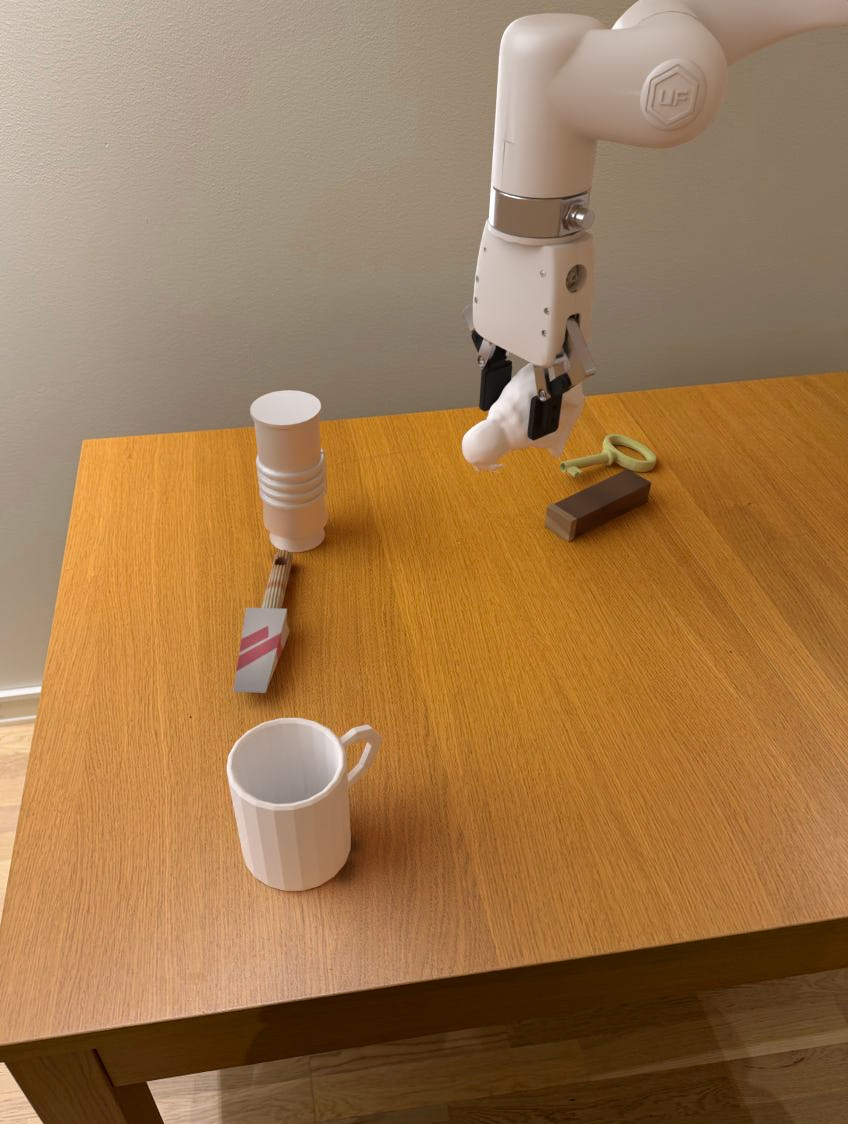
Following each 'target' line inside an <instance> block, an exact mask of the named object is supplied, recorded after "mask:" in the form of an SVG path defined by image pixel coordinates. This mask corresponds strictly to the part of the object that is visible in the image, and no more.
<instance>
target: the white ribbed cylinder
mask: <svg viewBox="0 0 848 1124" xmlns="http://www.w3.org/2000/svg"><path fill="white" fill-rule="evenodd" d="M249 408H250V409H249V411H250V412H249V413H250V417H251V418H252V420H253V422H254V423H253V424H254V431H255V440H256V448H257V449H256V450H257V455H256V457H255V467H256V476H257V479H258V481H257V484H258V485H257V486H258V488H259V498H260V499H261V501H262V513H263V514H262V515H263V516H262V517H263V526H264V527H265V529H266V530H267V531H268V532H269V541H270V544H271V545H272V546H273V547H274V548H276V549H277V550H279V551H280V550H285V551H286V550H288V552H290V553H302V552H308V551H310V550H313V549H315V548H317V547H318V546H321V544H322V542H324V540H325V537H326V531H325V529H324V527H326V526H327V524H328V521H329V513H328V509H327V507H328V506H327V501H326V495H327V493H328V490H327V489H328V480H327V479H328V478H327V463H326V453H325V451H324V449H323V448H322V444H321V431H320V430H321V429H320V428H321V427H320V415H321V413H322V404H321V401H320V399H318V397H316V395H313V394H311V393H308V392H306V391H301V390H294V389H293V390H291V389H288V390H277V391H272V392H269V393H266V394H263V395H261V396H260V397H258V398H256V399H255V400H254V401H253V402H252V404H251V405H250V407H249Z"/></svg>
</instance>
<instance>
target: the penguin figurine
mask: <svg viewBox="0 0 848 1124" xmlns="http://www.w3.org/2000/svg"><path fill="white" fill-rule="evenodd" d="M568 369H570V362H568ZM548 371H549V378H550V381H552V380H553V379H555V373H554V366H553V367H551V368H548ZM534 396H537V389H536V382H535V375H534V368H533V364H532V363H530V362H528V363H527V364H526V365H525V366H523V367H521V368H520V369H519V370H518V372H517V373H516V374H515V375H514V376H513V377H511V381H510V382H509V383H508V384H507V385H506V387H505V388H504V390H503V391H502V393H501V395H500V397H499V399H498V400H497V401H496V402H495V403H494V404H493V405H492V406H491V408H490V410H488V414H487V417H486V419H483V420H481V421H480V422H478V423H476V424H475V425H474V426H472V427H470V429H469V430H468V431H467V432H465V434H464V436H463V438H462V441H461V451H462V455H463V457H464V459H465V460H466V462H467V463H469V464H470V465H472V467H473V468H474V470H475V471H476V472H477V473H481V472H483V471H484V472H485V471H489V472H492V473H497V474H501V473H502V472H501V471H498V470H500V469H503V468H506V465H505V463H502V462H499V460H500V458H502V457H503V456H504V455H507V454H509V453H511V452H512V451H516V450H519V451H521V450H522V451H523V450H526V449H529V448H530V447H533V448H536V449H548V452H549V454H550V455H551V457H552V458H555V459H560V458H561V457H562V455H563V454H564V448H565V446H566V442H567V441H568V440H569V438H570V437H571V434H572V431H573V430H574V427H575V424H576V423H577V422H578V421H579V419H580V418H581V414H582V410H583V407H584V405H585V403H586V400H587V399H586V396H585V394H584V393H583V385H582V382H580V383H579V384H577V385H576V386H574V387H573V388H571V389H570V390H569V391H568V392H566V393H564V394H563V396H562V404H561V411H560V419H559V426H558V429H557V430H556V431H555V432H553V433H551V434H548V435H546V436H544V437H541V438H539V439H537V440H534V441H533V440H531V439H530V438H528V435H527V432H528V423H529V414H530V404H531V399H532V397H534ZM497 469H498V470H497Z"/></svg>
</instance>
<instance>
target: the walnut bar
mask: <svg viewBox="0 0 848 1124" xmlns="http://www.w3.org/2000/svg"><path fill="white" fill-rule="evenodd" d="M651 487H652V481H650V480H648V479H646V478H644V477H643V476H641V475H640V474H638V473H635V471H633V470H630V469H627V468H625V469H624V470H622V471H620V472H618V473H616V474H614V475H611V476H610V477H607V478H605V479H603V480H601V481H599V482H596V483H595V484H593V485H591V486H588V487H586V488H584V489H581V490H579V491H578V492H575V493H573V494H572V495H569V496H567V497H565V498H563V499H560V500H559V501H557V502H555V503H553V502H552V503H550V504H547V506H546V511H545V519H544V527H546V528H547V529H548V530H550V531H552V532H553V533H554V534H555V535H557V536H559V538H562V539H563V540H565V541H566V542H568V543H569V542H572V541H573V540H575V539H577V538H578V537H581V536H582V535H584V534H586V533H588V532H590V531H592V530H594V529H596V528H599V527H600V526H602V525H604V524H607V523H608V522H610V521H612V520H614V519H616V518H618V517H620V516H623V514H626V513H628V512H630V511H631V510H635V509H636V508H639V507H641V506H642V505H643V504H646V503H647V502H649V496H650V494H651V493H650V492H651Z"/></svg>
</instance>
